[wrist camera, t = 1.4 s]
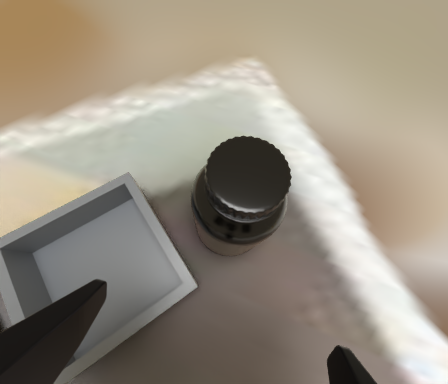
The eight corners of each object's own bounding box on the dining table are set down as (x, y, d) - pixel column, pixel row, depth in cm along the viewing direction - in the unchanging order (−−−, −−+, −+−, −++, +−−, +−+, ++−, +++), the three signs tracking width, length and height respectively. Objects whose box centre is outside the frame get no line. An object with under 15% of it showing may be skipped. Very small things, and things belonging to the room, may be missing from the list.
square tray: (74, 376, 17) (38, 403, 13) (24, 251, 20) (-16, 245, 16) (198, 285, 20) (197, 286, 17) (140, 188, 23) (128, 172, 20)
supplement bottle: (242, 184, 25) (274, 107, 14) (271, 239, 23) (338, 202, 11) (185, 207, 23) (168, 141, 12) (211, 269, 21) (220, 259, 10)
